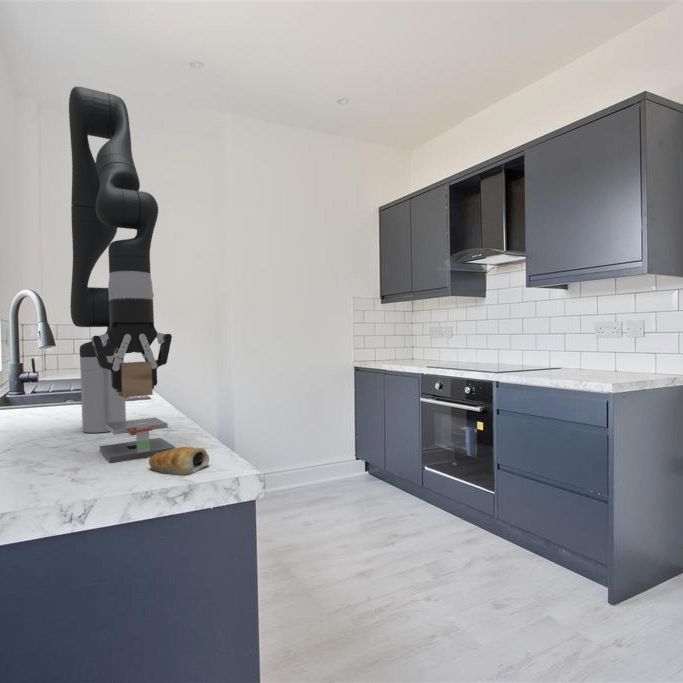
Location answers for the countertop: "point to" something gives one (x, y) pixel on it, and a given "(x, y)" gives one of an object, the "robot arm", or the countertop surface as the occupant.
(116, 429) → the pan
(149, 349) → the robot arm
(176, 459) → the pastry
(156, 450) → the base
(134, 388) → the walnut block
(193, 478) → the countertop surface
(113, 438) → the countertop surface
